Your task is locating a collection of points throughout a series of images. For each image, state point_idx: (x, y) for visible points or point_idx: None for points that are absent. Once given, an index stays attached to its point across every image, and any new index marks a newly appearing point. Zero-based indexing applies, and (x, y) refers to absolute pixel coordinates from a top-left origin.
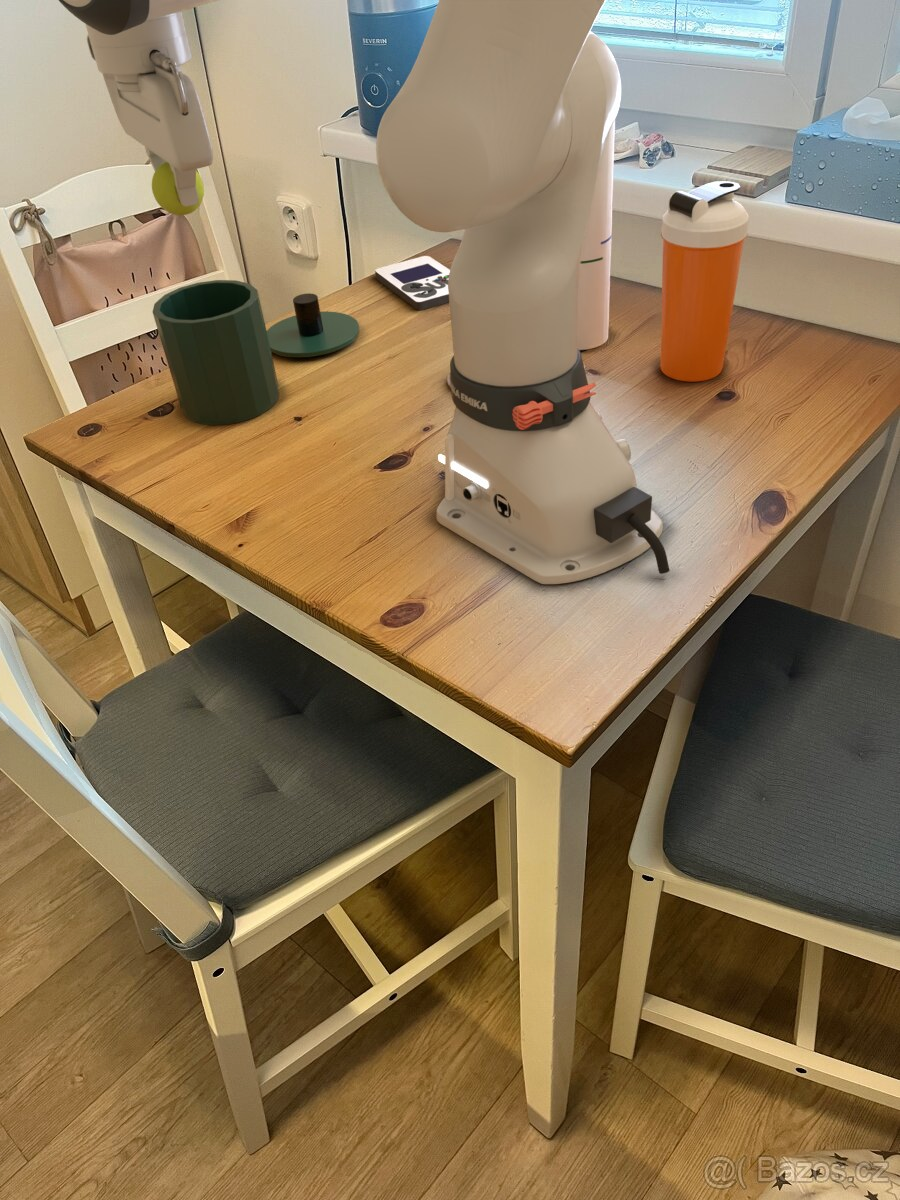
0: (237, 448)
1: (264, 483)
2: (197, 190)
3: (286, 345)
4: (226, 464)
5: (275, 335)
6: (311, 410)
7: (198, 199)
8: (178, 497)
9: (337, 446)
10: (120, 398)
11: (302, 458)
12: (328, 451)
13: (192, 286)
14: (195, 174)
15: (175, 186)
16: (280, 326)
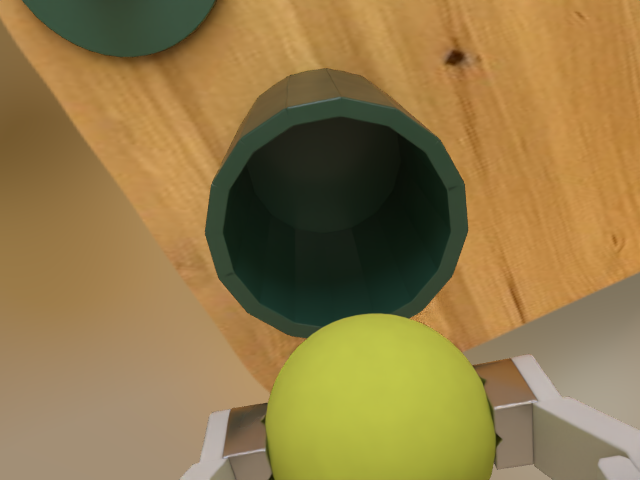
0: (489, 175)
1: (615, 154)
2: (467, 361)
3: (166, 12)
4: (526, 198)
5: (101, 25)
6: (438, 25)
7: (531, 357)
8: (568, 270)
9: (590, 12)
10: (224, 322)
11: (586, 82)
12: (595, 33)
13: (227, 250)
14: (635, 429)
15: (508, 465)
16: (52, 2)
